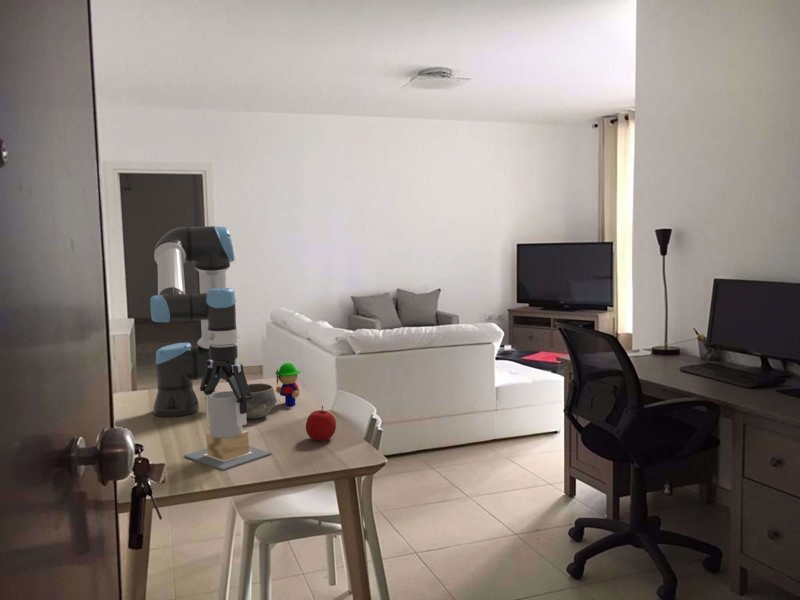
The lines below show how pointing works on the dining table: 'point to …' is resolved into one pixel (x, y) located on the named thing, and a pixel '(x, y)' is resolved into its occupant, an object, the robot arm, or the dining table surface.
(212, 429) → the mug
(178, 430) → the dining table surface
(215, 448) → the oak block
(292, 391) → the toy
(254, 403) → the bowl
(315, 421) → the apple
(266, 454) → the grey rectangular mat
